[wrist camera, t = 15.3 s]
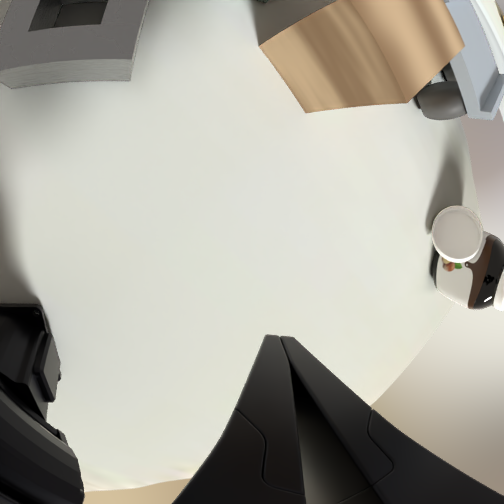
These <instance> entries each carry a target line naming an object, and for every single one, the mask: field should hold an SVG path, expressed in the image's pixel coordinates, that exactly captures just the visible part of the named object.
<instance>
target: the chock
mask: <svg viewBox="0 0 504 504" xmlns="http://www.w3.org/2000/svg"><path fill="white" fill-rule="evenodd" d="M259 47H260V49H261V50H262V51H263V53H264V54H265V55H266V57H267V58H268V59H269V61H270V62H271V63H272V65H273V66H274V67H275V69H276V70H277V71H278V73H279V74H280V76H281V77H282V79H283V80H284V81H285V83H286V84H287V86H288V87H289V89H290V90H291V92H292V93H293V95H294V96H295V98H296V99H297V101H298V102H299V104H300V105H301V107H302V108H303V110H304V111H305V113H311V112H317V111H324V110H332V109H340V108H348V107H358V106H369V105H381V104H398V103H408V102H409V101H410V100H411V99H412V98H413V97H414V96H415V95H416V94H417V93H418V92H419V91H420V90H421V89H422V88H423V87H424V86H425V85H426V84H427V83H428V82H429V81H430V80H431V79H432V78H433V77H434V76H435V75H436V74H437V73H438V72H439V71H440V70H441V69H442V68H443V67H444V66H445V65H447V64H448V63H449V62H450V61H451V60H452V59H453V58H454V57H455V56H456V55H457V54H458V53H459V52H460V51H461V50H462V49H463V48H464V47H465V44H464V42H463V39H462V37H461V35H460V32H459V30H458V28H457V26H456V24H455V22H454V20H453V18H452V16H451V14H450V12H449V10H448V8H447V6H446V4H445V2H444V0H337V1H335V2H333V3H331V4H329V5H327V6H325V7H323V8H322V9H320V10H318V11H316V12H314V13H312V14H310V15H309V16H307V17H305V18H303V19H301V20H300V21H298V22H296V23H295V24H293V25H291V26H290V27H288V28H286V29H285V30H283V31H281V32H280V33H278V34H277V35H275V36H274V37H272V38H270V39H269V40H267V41H266V42H264V43H263V44H261V45H260V46H259Z"/></svg>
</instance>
